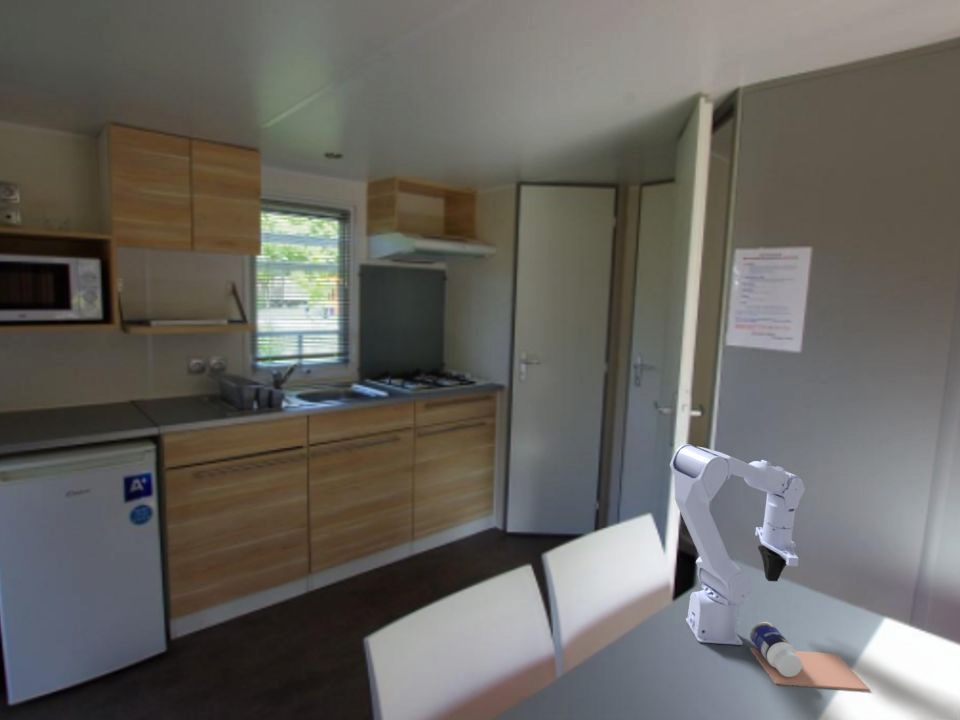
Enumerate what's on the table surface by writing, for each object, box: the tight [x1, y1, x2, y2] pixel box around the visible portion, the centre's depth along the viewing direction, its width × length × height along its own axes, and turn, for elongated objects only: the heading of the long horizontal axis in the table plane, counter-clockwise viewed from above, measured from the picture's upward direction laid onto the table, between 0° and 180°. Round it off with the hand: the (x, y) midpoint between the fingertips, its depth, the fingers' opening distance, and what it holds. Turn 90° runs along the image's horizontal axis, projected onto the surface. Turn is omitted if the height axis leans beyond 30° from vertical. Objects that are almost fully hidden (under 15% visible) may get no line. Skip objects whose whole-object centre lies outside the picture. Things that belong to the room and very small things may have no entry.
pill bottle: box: [749, 621, 802, 677], centre depth 108 cm, size 6×6×10 cm
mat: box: [749, 647, 871, 692], centre depth 107 cm, size 18×10×1 cm, turn 89°
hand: (771, 579), depth 121 cm, fingers closed
